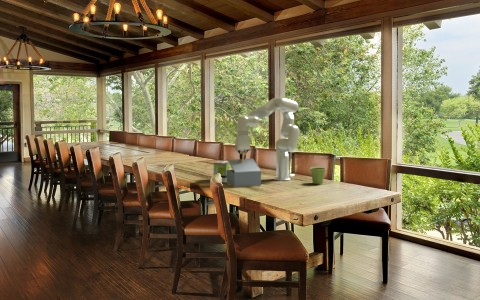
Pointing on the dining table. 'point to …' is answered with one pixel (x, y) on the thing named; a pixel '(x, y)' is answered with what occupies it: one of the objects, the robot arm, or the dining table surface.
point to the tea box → (222, 169)
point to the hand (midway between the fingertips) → (242, 159)
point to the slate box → (243, 179)
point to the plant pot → (317, 175)
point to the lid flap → (244, 165)
